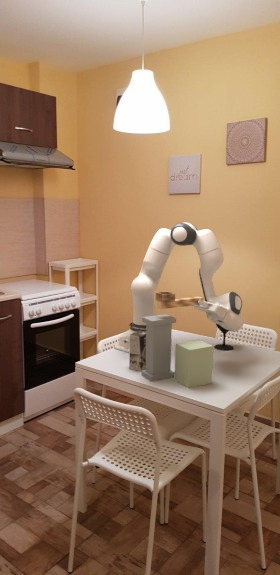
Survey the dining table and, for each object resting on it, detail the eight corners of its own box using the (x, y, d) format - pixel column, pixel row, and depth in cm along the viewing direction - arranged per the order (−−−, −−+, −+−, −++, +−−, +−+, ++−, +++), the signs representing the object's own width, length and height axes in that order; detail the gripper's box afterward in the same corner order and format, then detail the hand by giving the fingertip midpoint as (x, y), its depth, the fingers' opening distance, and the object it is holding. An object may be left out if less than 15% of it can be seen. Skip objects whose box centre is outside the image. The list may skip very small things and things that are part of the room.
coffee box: (141, 371, 199) (141, 336, 196) (128, 368, 202) (129, 334, 199) (150, 365, 207) (151, 331, 204) (138, 362, 210) (139, 329, 207)
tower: (164, 370, 200) (165, 314, 196) (174, 376, 193) (176, 318, 189) (141, 375, 194) (142, 317, 190) (150, 381, 187) (151, 321, 183)
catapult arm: (197, 302, 202) (197, 288, 201) (205, 304, 196) (205, 290, 195) (155, 307, 191) (155, 292, 190) (162, 309, 186) (163, 294, 185)
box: (197, 375, 195) (198, 339, 193) (211, 382, 187) (213, 346, 184) (174, 379, 190) (175, 343, 187) (188, 387, 181) (189, 350, 178)
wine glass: (219, 343, 243) (221, 307, 239) (237, 347, 237) (239, 310, 233) (210, 347, 235) (211, 310, 231) (228, 351, 228) (230, 313, 225)
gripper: (205, 302, 213) (184, 290, 206) (233, 310, 196) (212, 297, 189) (199, 314, 213) (178, 302, 206) (227, 323, 195) (206, 310, 188)
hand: (195, 300), depth 197 cm, fingers closed on catapult arm, 3 cm apart
